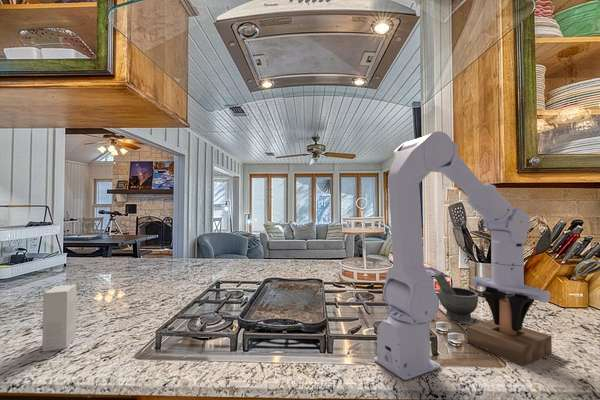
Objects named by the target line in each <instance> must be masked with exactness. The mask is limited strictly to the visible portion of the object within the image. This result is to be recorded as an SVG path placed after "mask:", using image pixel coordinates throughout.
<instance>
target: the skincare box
mask: <svg viewBox="0 0 600 400" xmlns="http://www.w3.org/2000/svg"><path fill="white" fill-rule="evenodd" d="M77 292H78V291H77V284H67V285H66V284H64V285H54V286H53V287H52V288H50V289H48V290H47V291H45V292H44V293H43V294H42V342H41V343H42V345H41V349H42V350H41V351H42V352H43V353H44V352H51V351H56V350H57V351H58V350H66V349H67V348H68V347H69V345H70V344H72V343H73V341H74V339H75V338H76V337H77Z"/></svg>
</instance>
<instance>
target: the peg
mask: <svg viewBox="0 0 600 400" xmlns="http://www.w3.org/2000/svg"><path fill="white" fill-rule="evenodd" d="M499 332H500V333H503V334H506V335H508V336H511V337H516V331H513V329H512V312H511V306H510V302H509V298H505V299H499Z"/></svg>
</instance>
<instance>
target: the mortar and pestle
mask: <svg viewBox="0 0 600 400" xmlns="http://www.w3.org/2000/svg"><path fill="white" fill-rule="evenodd" d="M444 274H445V273H444V272H443V271H438V272H436V273H435V274H433V277H432V278H433V280H435V281H436V282H437V284H438V286H439V290H438V298H439V303H441V306H442V307H443V309H445V310H446V313H445V317H447V318H448V319H451V320H453V321H454V320H455V321H457V322H459V321H460V322H468V321H471V319H472V315H471V314H472V313H474V312H475V310H476V309H477V308H478V303H479V293H478V292H477V291H475V290H472V289H467V288H463V287H454V286H451V284H450V282H449V281H448V280H447V278H446V277H445V275H444Z"/></svg>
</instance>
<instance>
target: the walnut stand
mask: <svg viewBox="0 0 600 400" xmlns="http://www.w3.org/2000/svg"><path fill="white" fill-rule="evenodd" d="M466 336H467V337H466V338H467V339H466V340H467V342H469V343H472V344H474V345H477V346H479V347H482V348H484V349H487V350H488V351H490V352H489V353H491V352H492V353H491V354H493V353H494V355H495V356H498V357H501V358H502V359H506V360H507V361H510V362H513V363H515V364H518V365H520V366H523V367H524V366H526V365H528V364H530V363H533V362H535V361H537V360H539V359H542V358H544V357H547V356H548V355H551V354H552V353H553V350H552V349H553V348H552V346H553V345H552V344H553V343H552V338H553V337H552V335H549V334H546V333H543V332H540V331H538V330H534V329H532V328H528V327H524V326H522V329H521V330H519V331H516V337H511V336H508V335H506V334H503V333H500V332H499V325H496V324H495V323H494V319H489V320H485V321H483V322H479V323H476V324H472V325H468V326H466ZM467 342H466V343H467ZM469 343H468V344H469ZM472 344H471V345H472ZM474 345H473V346H474ZM477 346H476V347H477ZM479 347H478V348H479ZM484 349H483V350H484ZM488 351H487V352H488Z"/></svg>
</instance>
